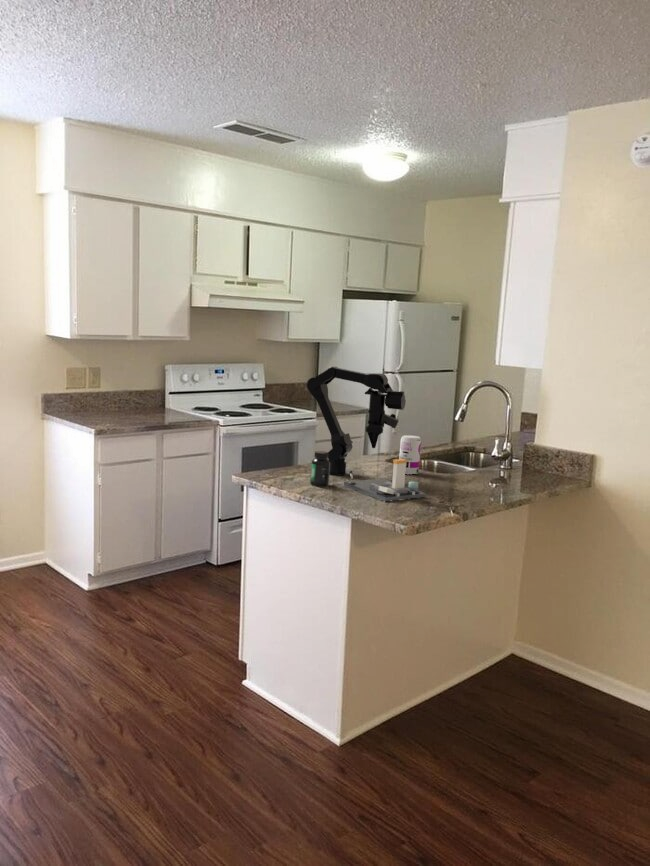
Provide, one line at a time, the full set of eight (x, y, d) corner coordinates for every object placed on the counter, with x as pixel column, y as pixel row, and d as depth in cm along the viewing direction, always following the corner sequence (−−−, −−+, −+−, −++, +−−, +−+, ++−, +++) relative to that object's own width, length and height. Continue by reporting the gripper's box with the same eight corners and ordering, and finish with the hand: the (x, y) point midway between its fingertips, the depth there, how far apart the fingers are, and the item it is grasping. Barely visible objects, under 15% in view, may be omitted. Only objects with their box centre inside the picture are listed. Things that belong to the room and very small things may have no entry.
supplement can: (418, 472, 294) (421, 435, 292) (418, 476, 286) (421, 439, 284) (398, 470, 295) (400, 434, 293) (398, 474, 287) (401, 437, 285)
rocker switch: (378, 489, 247) (379, 485, 247) (385, 491, 249) (386, 487, 249) (386, 492, 244) (387, 488, 244) (393, 494, 246) (394, 490, 246)
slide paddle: (387, 490, 252) (390, 458, 250) (398, 489, 254) (400, 458, 252) (396, 493, 247) (399, 461, 246) (407, 492, 250) (410, 460, 248)
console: (343, 485, 262) (344, 479, 262) (382, 482, 272) (383, 475, 272) (384, 502, 242) (385, 494, 242) (425, 497, 252) (426, 490, 252)
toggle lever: (350, 480, 260) (348, 470, 261) (352, 480, 261) (351, 470, 262) (351, 479, 259) (350, 470, 260) (354, 479, 260) (352, 469, 261)
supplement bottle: (311, 486, 258) (313, 453, 256) (308, 482, 264) (310, 450, 262) (330, 487, 259) (332, 454, 257) (327, 482, 265) (329, 450, 264)
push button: (406, 487, 254) (406, 481, 253) (413, 487, 256) (414, 481, 255) (412, 490, 251) (412, 484, 250) (419, 489, 253) (420, 483, 252)
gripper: (397, 411, 262) (394, 454, 265) (398, 405, 280) (395, 445, 283) (367, 409, 263) (364, 451, 266) (369, 403, 282) (367, 443, 284)
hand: (373, 448), depth 275 cm, fingers closed
